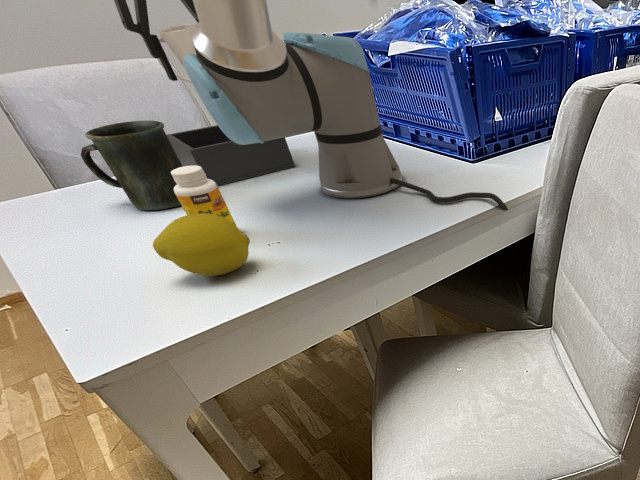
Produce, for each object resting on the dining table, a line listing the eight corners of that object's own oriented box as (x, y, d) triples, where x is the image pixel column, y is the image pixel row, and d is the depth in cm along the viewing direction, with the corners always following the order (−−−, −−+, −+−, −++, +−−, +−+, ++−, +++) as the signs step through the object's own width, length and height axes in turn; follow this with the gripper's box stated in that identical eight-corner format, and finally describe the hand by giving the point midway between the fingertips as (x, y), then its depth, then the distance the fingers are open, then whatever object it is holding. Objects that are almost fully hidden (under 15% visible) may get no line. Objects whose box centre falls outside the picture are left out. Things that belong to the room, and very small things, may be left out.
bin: (295, 166, 97) (282, 131, 92) (209, 188, 88) (190, 150, 83) (265, 151, 105) (252, 118, 100) (184, 170, 96) (165, 134, 92)
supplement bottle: (213, 249, 68) (174, 178, 61) (195, 240, 71) (156, 171, 63) (247, 236, 71) (214, 167, 64) (229, 228, 74) (196, 161, 67)
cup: (220, 83, 84) (190, 28, 77) (167, 91, 84) (133, 38, 77) (231, 72, 88) (203, 20, 82) (181, 80, 88) (150, 29, 82)
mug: (188, 209, 80) (147, 134, 72) (100, 217, 78) (46, 140, 70) (209, 188, 88) (173, 118, 79) (128, 195, 86) (83, 124, 78)
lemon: (267, 255, 66) (241, 200, 61) (255, 281, 61) (226, 223, 55) (188, 264, 65) (154, 208, 59) (169, 291, 59) (130, 233, 54)
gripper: (182, -98, 76) (245, 67, 92) (30, -105, 66) (131, 82, 82) (195, -102, 72) (259, 71, 88) (37, -110, 62) (141, 87, 78)
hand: (197, 76), depth 85 cm, fingers closed on cup, 7 cm apart
